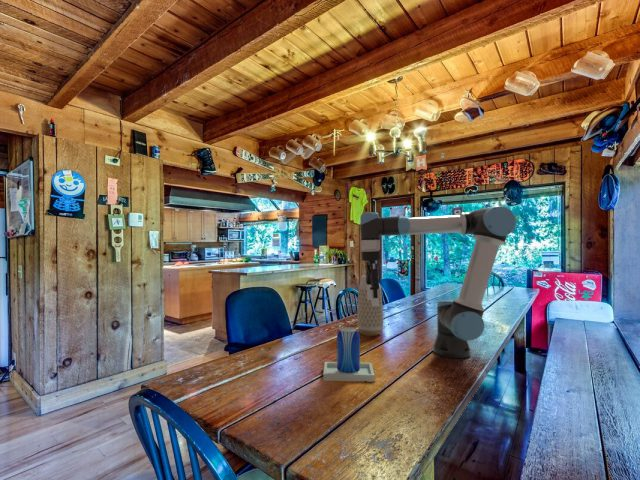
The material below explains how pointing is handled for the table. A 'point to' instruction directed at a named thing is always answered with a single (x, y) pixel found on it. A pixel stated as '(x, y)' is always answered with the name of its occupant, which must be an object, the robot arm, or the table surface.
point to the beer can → (348, 350)
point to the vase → (369, 312)
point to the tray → (334, 375)
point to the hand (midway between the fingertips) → (372, 303)
